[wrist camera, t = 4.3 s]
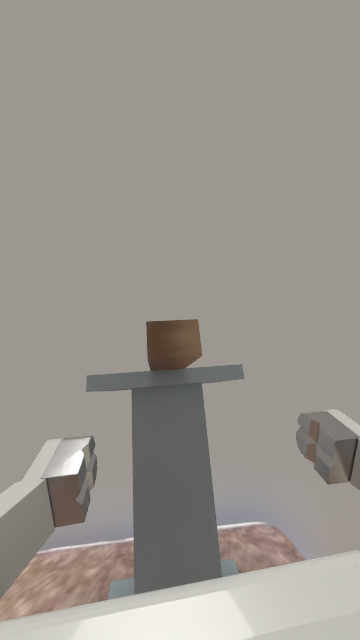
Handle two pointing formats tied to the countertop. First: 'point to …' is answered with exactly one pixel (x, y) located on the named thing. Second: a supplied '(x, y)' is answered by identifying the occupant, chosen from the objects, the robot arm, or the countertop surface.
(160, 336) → the block
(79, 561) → the countertop surface
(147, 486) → the stand
